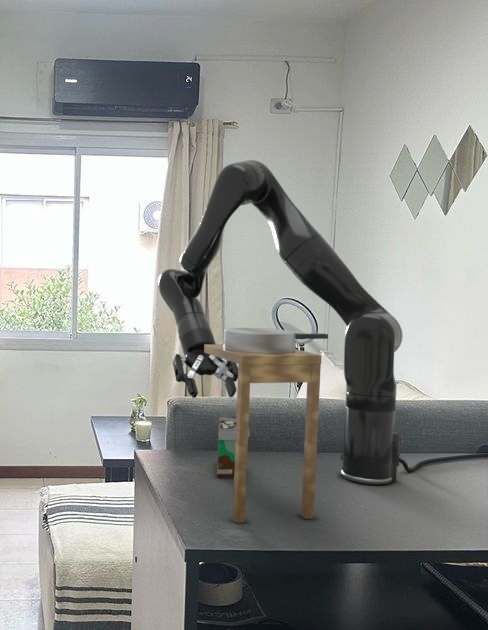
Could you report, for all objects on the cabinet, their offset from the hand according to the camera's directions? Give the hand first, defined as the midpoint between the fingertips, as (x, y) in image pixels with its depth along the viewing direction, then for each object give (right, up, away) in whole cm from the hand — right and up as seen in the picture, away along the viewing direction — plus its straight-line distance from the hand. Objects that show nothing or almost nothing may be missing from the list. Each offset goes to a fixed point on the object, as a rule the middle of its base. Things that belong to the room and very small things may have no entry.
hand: (214, 395), depth 161 cm
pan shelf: (+4, -16, -30) cm, 34 cm away
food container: (+2, -15, -10) cm, 18 cm away
